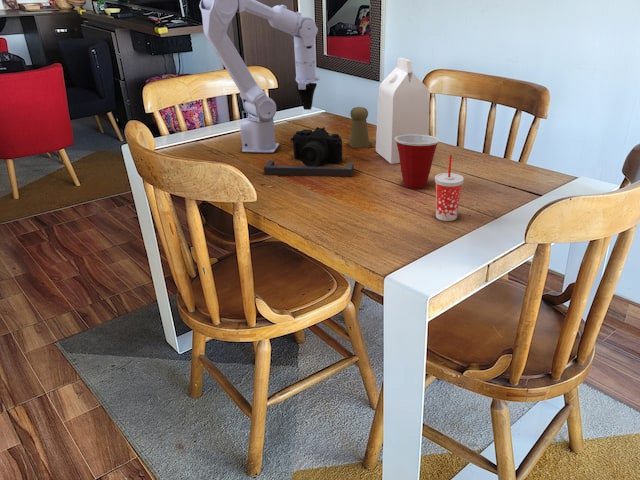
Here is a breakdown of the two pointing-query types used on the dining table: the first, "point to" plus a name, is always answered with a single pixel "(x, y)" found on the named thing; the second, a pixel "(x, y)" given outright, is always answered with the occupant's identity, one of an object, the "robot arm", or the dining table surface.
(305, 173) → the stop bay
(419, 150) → the plastic cup
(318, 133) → the film camera
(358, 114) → the cork
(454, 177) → the beverage cup
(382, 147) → the milk
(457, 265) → the dining table surface
